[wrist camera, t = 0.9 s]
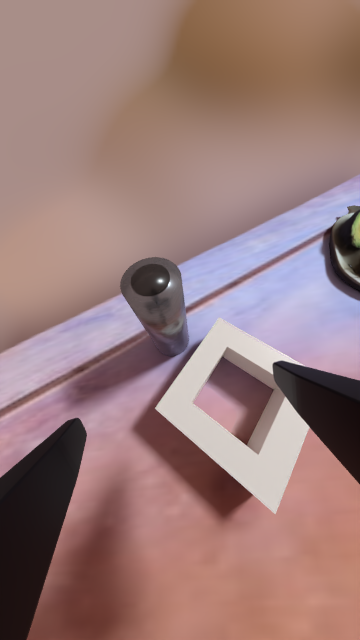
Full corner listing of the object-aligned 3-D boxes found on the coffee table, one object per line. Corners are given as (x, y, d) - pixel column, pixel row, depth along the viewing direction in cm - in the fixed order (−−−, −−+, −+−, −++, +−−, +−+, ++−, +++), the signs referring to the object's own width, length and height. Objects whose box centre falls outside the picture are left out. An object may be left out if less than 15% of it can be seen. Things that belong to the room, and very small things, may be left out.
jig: (258, 491, 16) (275, 514, 12) (162, 408, 20) (154, 408, 16) (304, 384, 20) (328, 378, 16) (215, 331, 23) (219, 317, 20)
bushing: (175, 362, 22) (153, 316, 11) (148, 343, 23) (106, 286, 13) (195, 335, 23) (193, 270, 13) (169, 318, 25) (147, 248, 14)
